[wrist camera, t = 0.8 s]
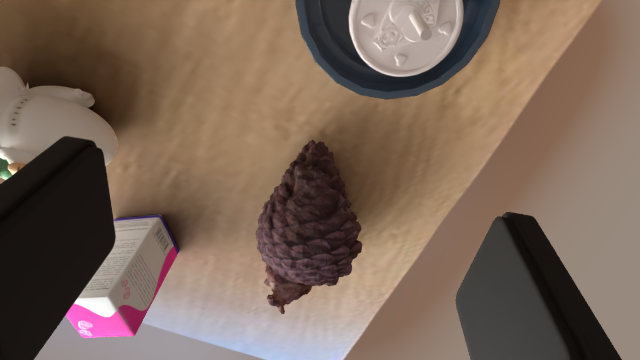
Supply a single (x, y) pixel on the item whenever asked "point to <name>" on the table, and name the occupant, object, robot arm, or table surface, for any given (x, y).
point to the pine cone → (307, 228)
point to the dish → (355, 74)
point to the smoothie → (404, 33)
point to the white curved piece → (45, 121)
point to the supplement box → (126, 279)
